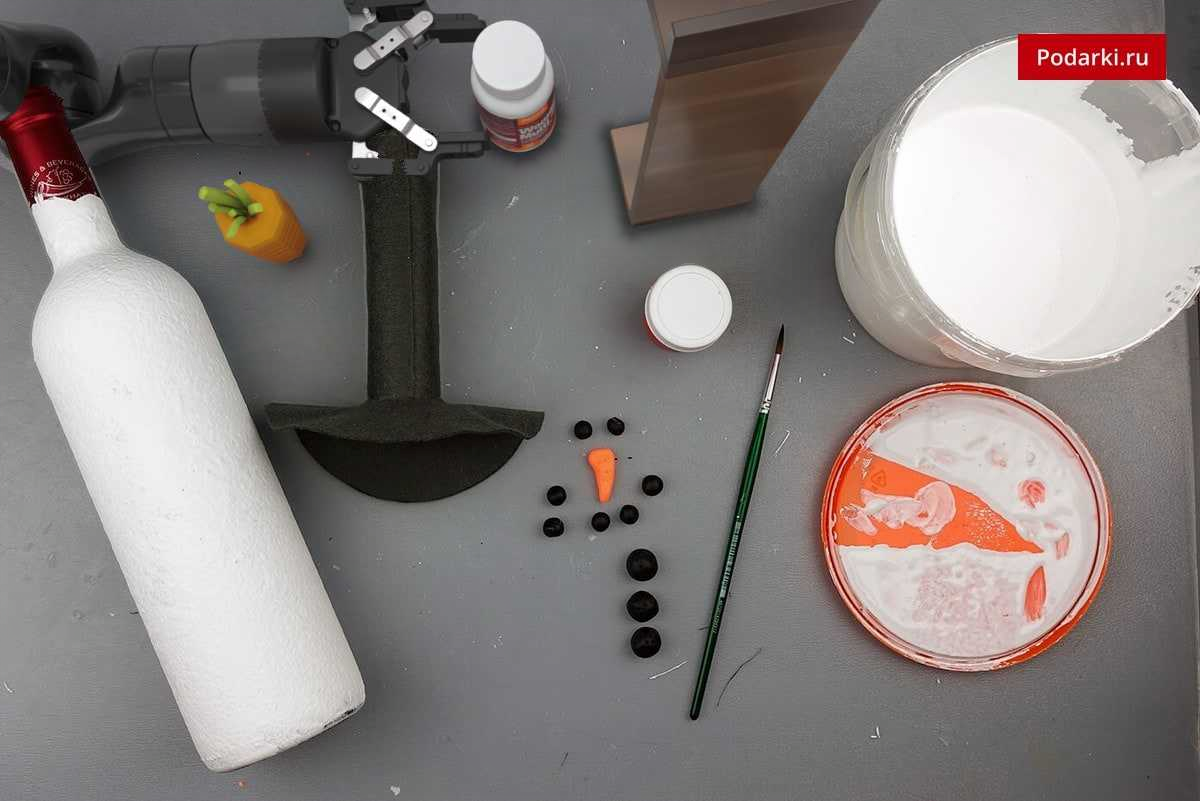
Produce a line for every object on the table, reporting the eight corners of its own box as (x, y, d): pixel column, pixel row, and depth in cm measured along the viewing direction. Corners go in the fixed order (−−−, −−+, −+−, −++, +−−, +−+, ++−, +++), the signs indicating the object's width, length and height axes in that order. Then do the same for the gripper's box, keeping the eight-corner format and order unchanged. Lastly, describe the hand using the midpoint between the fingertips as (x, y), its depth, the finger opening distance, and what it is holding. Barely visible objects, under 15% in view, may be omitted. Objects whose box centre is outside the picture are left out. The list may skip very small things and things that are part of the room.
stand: (609, 134, 74) (629, -69, 46) (726, 109, 75) (819, -107, 46) (631, 227, 74) (665, 80, 45) (749, 202, 74) (856, 40, 46)
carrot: (339, 248, 73) (278, 193, 58) (297, 293, 73) (225, 249, 58) (294, 207, 73) (222, 142, 58) (252, 252, 73) (168, 198, 58)
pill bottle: (533, 167, 74) (525, 114, 63) (467, 131, 74) (448, 72, 63) (569, 103, 74) (568, 39, 63) (504, 68, 74) (491, -3, 63)
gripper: (255, 169, 63) (487, 161, 63) (251, -27, 64) (480, -34, 64) (289, 200, 70) (496, 193, 71) (285, 24, 71) (490, 18, 72)
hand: (488, 85), depth 68 cm, fingers open, 8 cm apart
